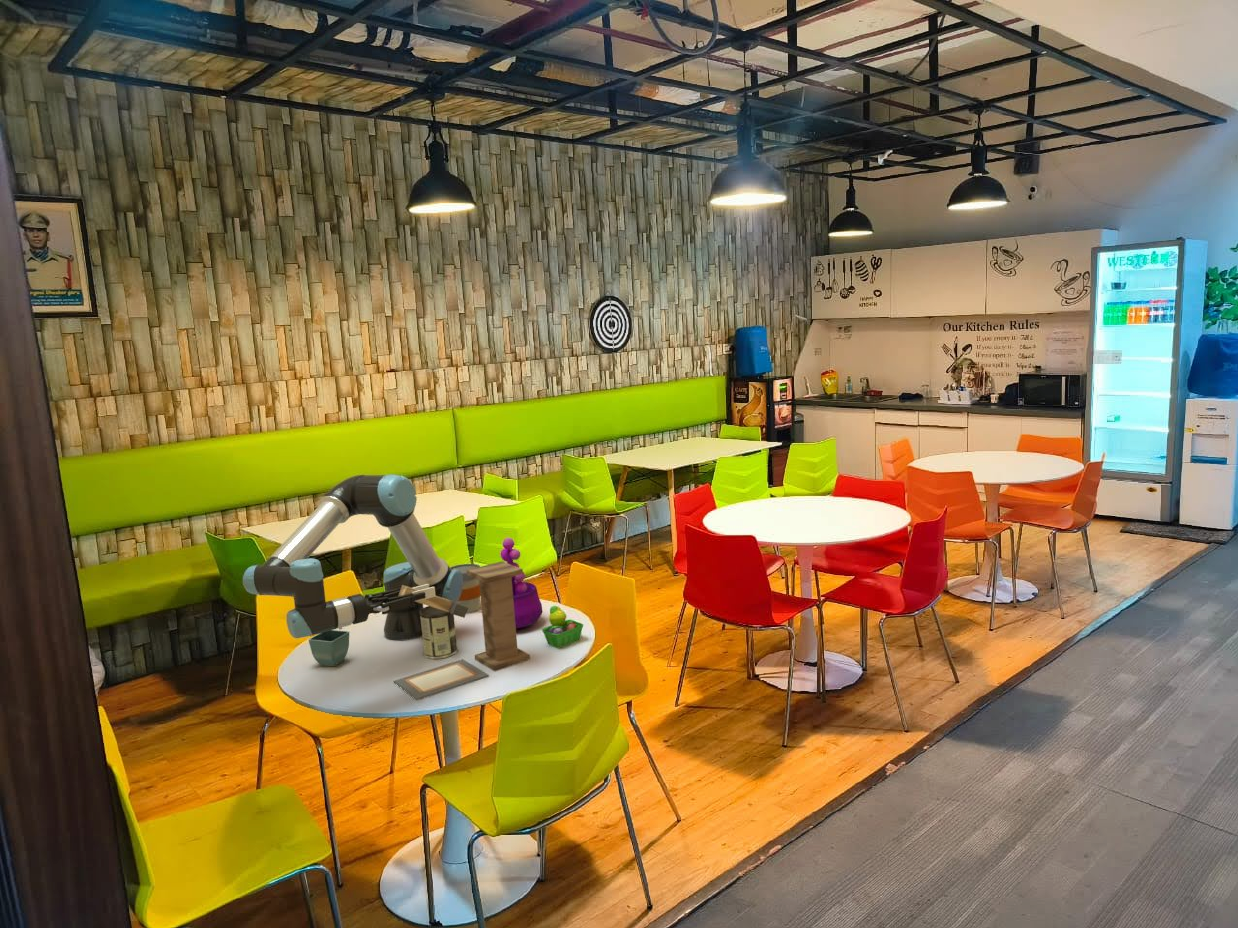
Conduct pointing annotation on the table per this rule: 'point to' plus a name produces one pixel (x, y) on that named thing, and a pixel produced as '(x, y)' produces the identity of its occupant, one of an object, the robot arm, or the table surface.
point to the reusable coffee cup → (469, 588)
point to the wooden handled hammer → (439, 603)
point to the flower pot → (330, 647)
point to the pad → (440, 679)
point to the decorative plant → (521, 590)
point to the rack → (498, 615)
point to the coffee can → (438, 633)
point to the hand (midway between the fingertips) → (431, 590)
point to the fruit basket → (561, 629)
